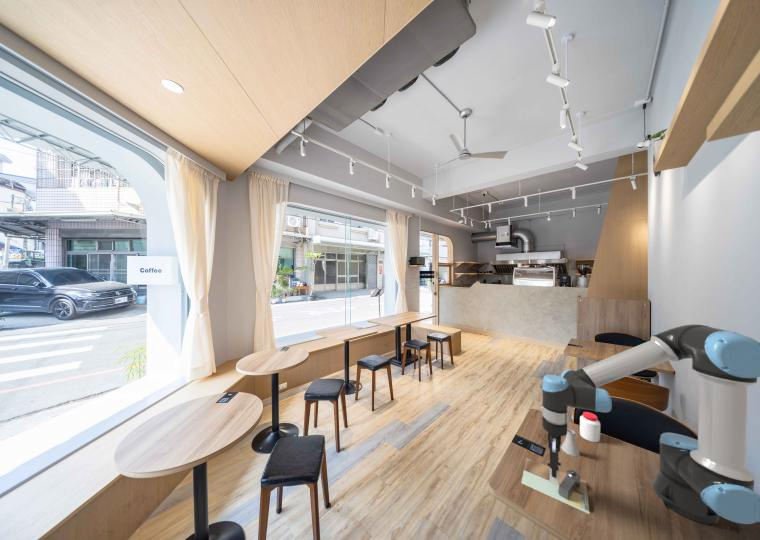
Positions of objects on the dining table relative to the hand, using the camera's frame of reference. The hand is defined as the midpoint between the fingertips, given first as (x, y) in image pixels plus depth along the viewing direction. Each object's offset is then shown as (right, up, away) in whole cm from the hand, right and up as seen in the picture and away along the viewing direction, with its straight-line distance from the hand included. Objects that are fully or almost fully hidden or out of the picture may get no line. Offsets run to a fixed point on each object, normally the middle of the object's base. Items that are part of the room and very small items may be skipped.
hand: (554, 483), depth 92 cm
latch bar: (+6, -3, +1) cm, 7 cm away
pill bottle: (+40, -5, +32) cm, 52 cm away
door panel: (0, -4, 0) cm, 4 cm away
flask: (+22, -5, +21) cm, 31 cm away
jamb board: (+5, -4, +7) cm, 10 cm away
